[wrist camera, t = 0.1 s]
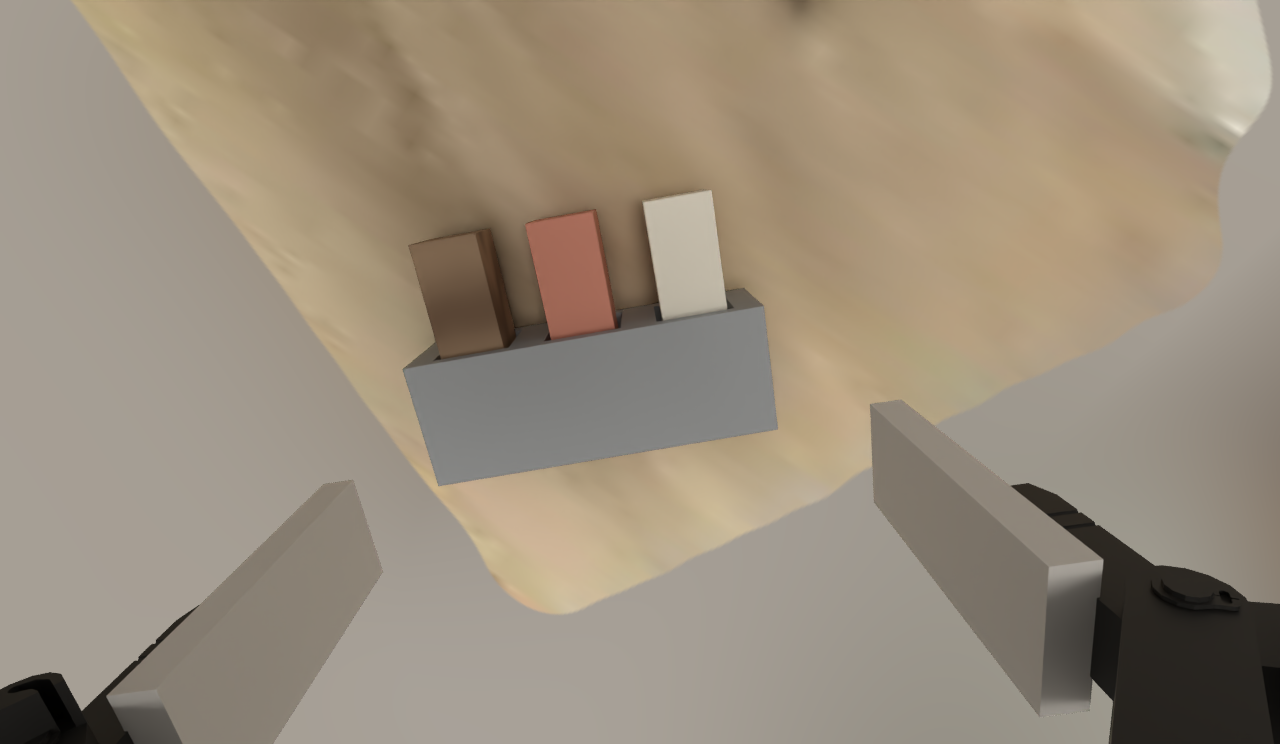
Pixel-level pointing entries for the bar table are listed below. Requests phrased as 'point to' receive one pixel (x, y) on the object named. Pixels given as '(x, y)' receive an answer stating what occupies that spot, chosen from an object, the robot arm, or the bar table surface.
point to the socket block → (596, 392)
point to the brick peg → (572, 274)
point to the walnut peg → (464, 293)
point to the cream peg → (685, 254)
